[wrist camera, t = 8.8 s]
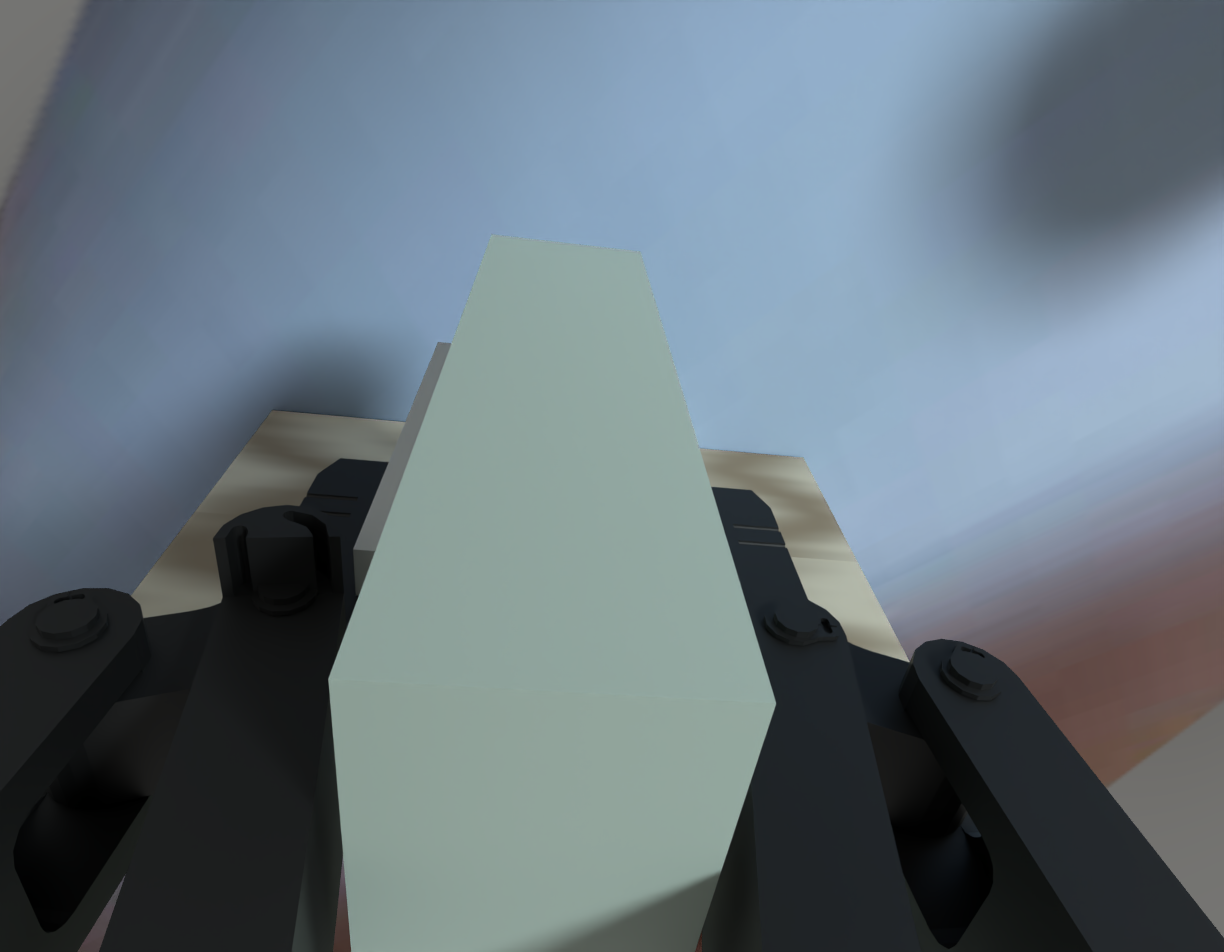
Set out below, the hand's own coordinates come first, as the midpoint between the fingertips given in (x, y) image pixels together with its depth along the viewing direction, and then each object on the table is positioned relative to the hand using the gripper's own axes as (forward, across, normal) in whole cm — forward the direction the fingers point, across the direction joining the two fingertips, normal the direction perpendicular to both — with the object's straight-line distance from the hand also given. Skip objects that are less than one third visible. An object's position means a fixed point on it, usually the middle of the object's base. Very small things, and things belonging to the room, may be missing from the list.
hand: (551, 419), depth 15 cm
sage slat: (+2, 0, -7) cm, 7 cm away
